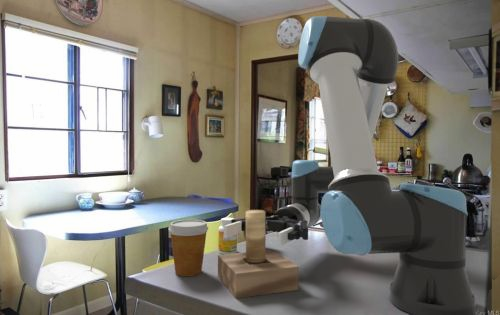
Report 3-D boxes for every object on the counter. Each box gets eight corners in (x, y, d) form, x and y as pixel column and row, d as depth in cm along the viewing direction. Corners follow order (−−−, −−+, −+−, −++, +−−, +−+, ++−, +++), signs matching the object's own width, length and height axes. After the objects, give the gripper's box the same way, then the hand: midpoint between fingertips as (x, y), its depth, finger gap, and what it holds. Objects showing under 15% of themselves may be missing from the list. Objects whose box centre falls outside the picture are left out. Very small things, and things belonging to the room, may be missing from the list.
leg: (269, 284, 84) (268, 212, 83) (249, 287, 82) (249, 214, 82) (261, 277, 88) (261, 209, 88) (243, 280, 87) (242, 210, 86)
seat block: (298, 289, 81) (298, 266, 81) (235, 298, 76) (235, 273, 76) (272, 269, 94) (272, 249, 94) (217, 276, 90) (217, 254, 89)
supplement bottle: (219, 249, 113) (219, 216, 113) (237, 249, 113) (237, 217, 112) (217, 254, 108) (217, 220, 107) (236, 254, 107) (236, 220, 107)
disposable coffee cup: (204, 264, 98) (204, 218, 98) (211, 276, 89) (211, 225, 89) (166, 268, 95) (166, 220, 95) (170, 280, 86) (170, 228, 86)
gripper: (336, 239, 95) (304, 261, 77) (250, 228, 108) (205, 245, 89) (336, 209, 95) (304, 224, 77) (250, 202, 108) (205, 213, 89)
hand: (251, 235), depth 83 cm, fingers open, 13 cm apart
